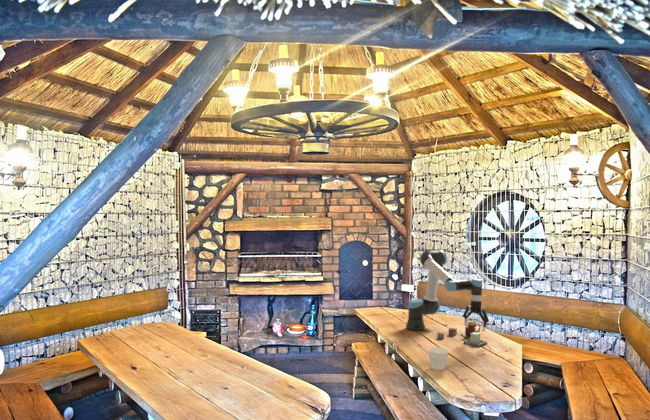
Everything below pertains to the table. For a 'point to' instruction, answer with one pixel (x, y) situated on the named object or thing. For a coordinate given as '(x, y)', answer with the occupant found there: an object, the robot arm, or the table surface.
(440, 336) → the rubber puck
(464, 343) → the tray
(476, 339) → the sage brick
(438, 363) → the cup
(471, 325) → the mug
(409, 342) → the table surface
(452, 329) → the walnut block
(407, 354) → the table surface
